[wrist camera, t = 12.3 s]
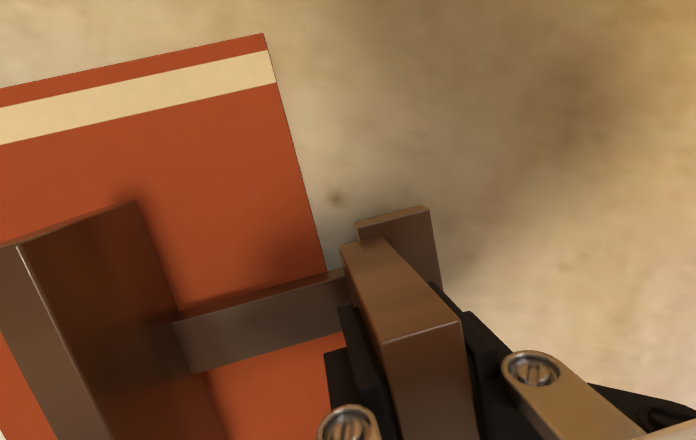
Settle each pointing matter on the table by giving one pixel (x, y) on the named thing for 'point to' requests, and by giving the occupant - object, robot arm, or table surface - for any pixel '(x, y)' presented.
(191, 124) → the towel
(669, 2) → the table surface
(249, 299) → the rod with end plates
